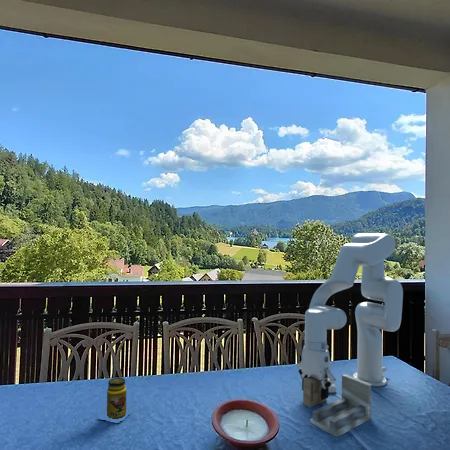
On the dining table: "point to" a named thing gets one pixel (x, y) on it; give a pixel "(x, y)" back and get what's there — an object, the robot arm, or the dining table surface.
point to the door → (312, 391)
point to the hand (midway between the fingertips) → (314, 393)
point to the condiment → (116, 398)
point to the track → (345, 408)
